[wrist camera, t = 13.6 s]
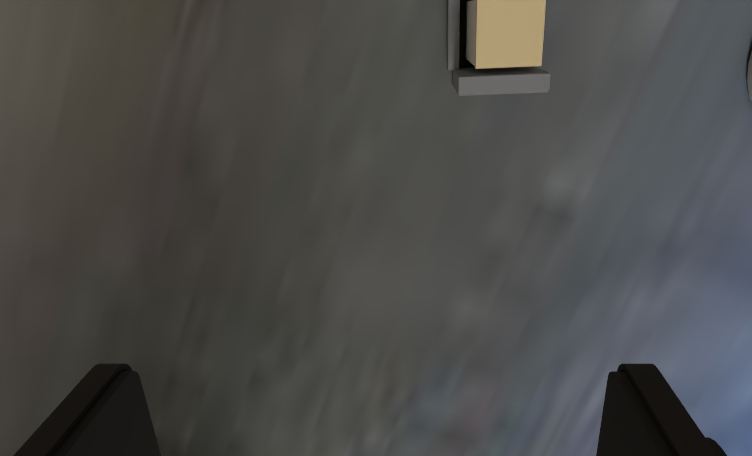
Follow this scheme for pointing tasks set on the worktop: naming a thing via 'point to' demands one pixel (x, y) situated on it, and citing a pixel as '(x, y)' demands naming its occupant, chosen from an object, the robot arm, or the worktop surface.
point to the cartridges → (505, 33)
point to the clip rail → (488, 69)
